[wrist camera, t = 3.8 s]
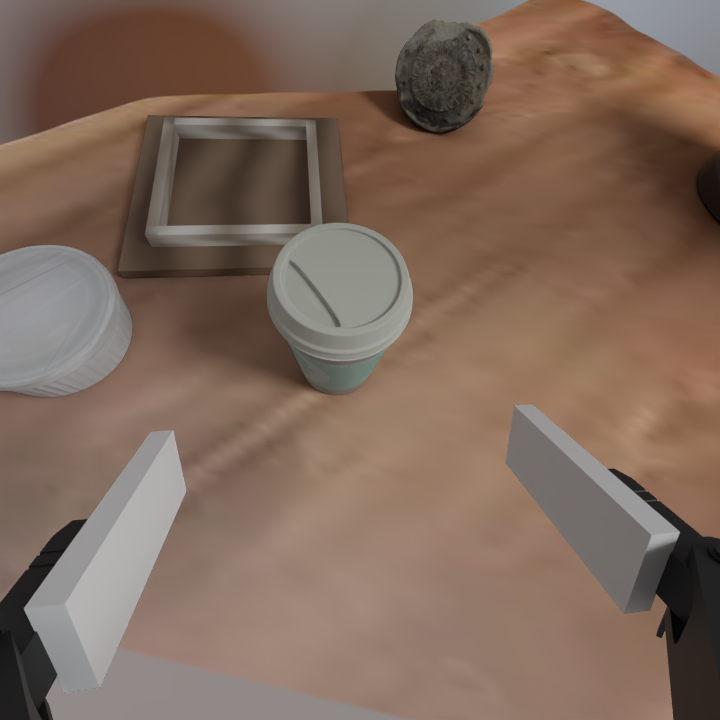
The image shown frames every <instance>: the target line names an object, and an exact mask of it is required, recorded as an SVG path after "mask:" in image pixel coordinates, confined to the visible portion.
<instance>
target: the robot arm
mask: <svg viewBox="0 0 720 720" xmlns="http://www.w3.org/2000/svg"><path fill="white" fill-rule="evenodd" d="M697 183H698V189H699V193H700V195H701V198H702V200H703V201H704V203H705V205H706V206H707V208H708V209H709V211H710V212H711V213H712V214H713V215H714V216H715V217H716V219H717V220H719V221H720V150H719V151H718V152H717V153H716V154H715V155H714V156H713V157H712V158H711V159H710V160H709V161H708V162H707V163H706V164H705V165H703V167H702V168H701V169H700V171H699V174H698V179H697ZM505 463H506V464H507V465H508V466H509V468H510V469H511V470H512V472H513V473H514V474H515V475H516V477H517V478H518V479H519V481H520V482H521V483H522V484H523V486H524V487H525V488H526V489H527V491H528V492H529V493H530V495H531V496H532V497H533V498H534V500H535V501H536V502H537V504H538V505H539V506H540V507H541V509H542V510H543V511H544V512H545V514H546V515H547V516H548V518H549V519H550V520H551V521H552V523H553V524H554V525H555V527H556V528H557V529H558V530H559V532H560V533H561V534H562V535H563V537H564V538H565V539H566V541H567V542H568V543H569V544H570V546H571V547H572V548H573V550H574V551H575V552H576V553H577V555H578V556H579V557H580V558H581V560H582V561H583V562H584V564H585V565H586V566H587V567H588V569H589V570H590V571H591V572H592V574H593V575H594V576H595V578H596V579H597V580H598V581H599V583H600V584H601V585H602V587H603V588H604V589H605V590H606V592H607V593H608V594H609V595H610V597H611V598H612V599H613V601H614V602H615V603H616V604H617V606H618V607H619V608H620V610H621V611H622V612H623V613H624V614H626V613H634V612H641V611H648V610H650V608H651V606H652V603H653V601H654V598H655V596H656V594H657V595H658V596H659V597H660V598H661V599H662V600H663V601H664V603H665V604H666V605H667V608H666V611H665V613H664V615H663V618H662V620H661V623H660V625H659V628H658V631H657V635H656V636H658V637H660V638H662V636H663V633H664V632H665V631H666V641H667V653H668V664H669V675H670V686H671V697H672V708H673V719H674V720H720V539H718V538H713V537H702V536H701V535H700V534H699V533H698V532H696V531H695V530H694V529H693V528H691V527H690V526H689V525H688V524H687V523H685V522H684V521H683V520H682V519H681V518H679V517H678V516H677V515H676V514H675V513H673V512H672V511H671V510H670V509H668V508H667V507H666V506H665V505H664V504H662V503H661V502H660V501H659V502H658V501H657V499H656V498H655V497H654V496H653V495H651V494H650V493H649V492H646V491H645V489H644V488H643V487H642V486H641V485H639V484H638V483H637V482H636V481H635V480H633V479H632V478H631V477H629V476H627V475H625V474H623V473H621V472H619V471H617V470H616V469H607V468H605V467H604V466H603V465H602V464H601V463H600V462H598V461H597V460H596V459H595V458H594V457H593V456H592V455H590V454H589V453H588V452H587V451H586V450H585V449H583V448H582V447H581V446H580V445H579V444H578V443H576V442H575V441H574V440H573V439H572V438H571V437H570V436H568V435H567V434H566V433H565V432H564V431H563V430H561V429H560V428H559V427H558V426H557V425H556V424H554V423H553V422H552V421H551V420H550V419H549V418H547V417H546V416H545V415H544V414H543V413H542V412H541V411H539V410H538V409H537V408H536V407H535V406H534V405H532V404H530V405H516V406H514V411H513V417H512V424H511V430H510V437H509V443H508V450H507V456H506V462H505ZM185 493H186V487H185V482H184V477H183V473H182V468H181V464H180V459H179V455H178V450H177V446H176V441H175V436H174V432H173V430H167V431H153V432H150V434H149V435H148V436H147V438H146V439H145V441H144V442H143V443H142V445H141V446H140V448H139V449H138V450H137V452H136V453H135V455H134V456H133V457H132V459H131V460H130V461H129V463H128V464H127V466H126V467H125V468H124V470H123V471H122V473H121V474H120V475H119V477H118V478H117V480H116V481H115V482H114V484H113V485H112V487H111V488H110V489H109V491H108V492H107V493H106V495H105V496H104V498H103V499H102V500H101V502H100V503H99V505H98V506H97V507H96V509H95V510H94V512H93V513H92V514H91V516H90V517H89V518H88V519H84V520H73V521H71V522H70V523H69V524H68V525H66V526H65V527H64V528H62V529H61V530H60V531H59V532H57V533H56V534H55V535H54V536H53V537H52V538H51V539H50V541H49V542H48V543H47V544H46V546H45V547H44V548H43V549H42V551H41V552H40V556H37V557H36V558H35V560H34V561H33V562H32V563H31V565H30V566H29V569H28V570H26V571H25V572H24V573H23V575H22V576H21V577H20V579H19V580H18V581H17V582H16V584H15V585H14V586H13V587H12V589H11V590H10V591H9V592H8V594H7V595H6V596H5V598H4V599H3V600H2V601H1V603H0V720H53V718H52V714H51V711H50V707H49V704H48V702H47V700H46V698H45V697H46V695H47V693H48V691H49V690H50V688H51V686H52V684H53V682H54V680H55V679H56V677H57V679H58V681H59V683H60V686H61V687H62V690H63V692H64V693H66V692H73V691H80V690H88V689H95V688H100V687H101V685H102V682H103V680H104V678H105V675H106V673H107V671H108V669H109V666H110V664H111V662H112V659H113V657H114V655H115V653H116V650H117V648H118V646H119V644H120V641H121V639H122V637H123V634H124V632H125V630H126V628H127V625H128V623H129V621H130V618H131V616H132V614H133V612H134V609H135V607H136V605H137V603H138V600H139V598H140V596H141V593H142V591H143V589H144V587H145V584H146V582H147V580H148V578H149V575H150V573H151V571H152V568H153V566H154V564H155V562H156V559H157V557H158V555H159V552H160V550H161V548H162V546H163V543H164V541H165V539H166V537H167V534H168V532H169V530H170V527H171V525H172V523H173V521H174V518H175V516H176V514H177V511H178V509H179V507H180V505H181V502H182V500H183V498H184V496H185Z"/></svg>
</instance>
